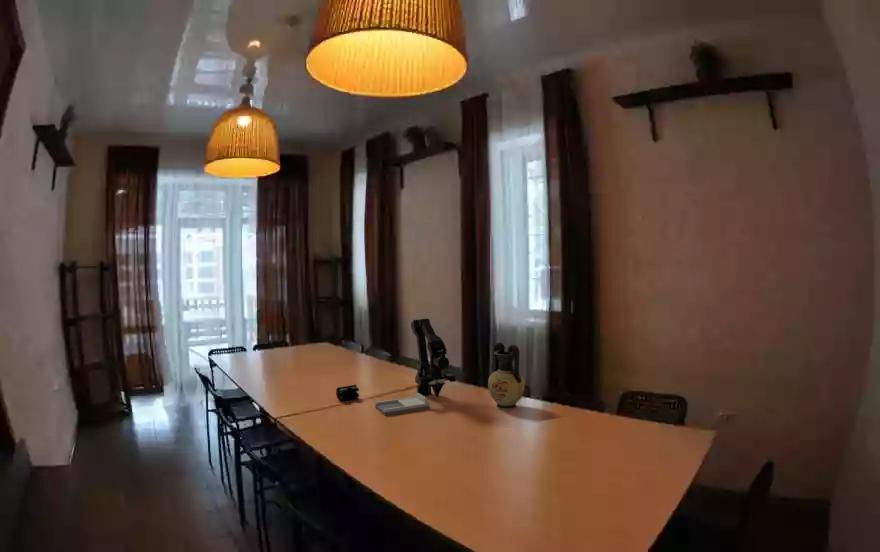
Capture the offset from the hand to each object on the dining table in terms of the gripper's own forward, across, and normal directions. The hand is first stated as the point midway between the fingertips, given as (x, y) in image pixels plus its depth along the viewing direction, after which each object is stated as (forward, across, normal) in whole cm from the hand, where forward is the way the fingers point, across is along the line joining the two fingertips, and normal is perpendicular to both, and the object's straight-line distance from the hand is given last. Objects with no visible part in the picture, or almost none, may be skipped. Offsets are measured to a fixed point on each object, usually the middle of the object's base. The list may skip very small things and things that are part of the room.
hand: (436, 397), depth 248 cm
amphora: (+3, -26, +22) cm, 34 cm away
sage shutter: (+1, +13, 0) cm, 13 cm away
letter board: (+3, +18, 0) cm, 18 cm away
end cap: (+3, +37, -28) cm, 47 cm away
